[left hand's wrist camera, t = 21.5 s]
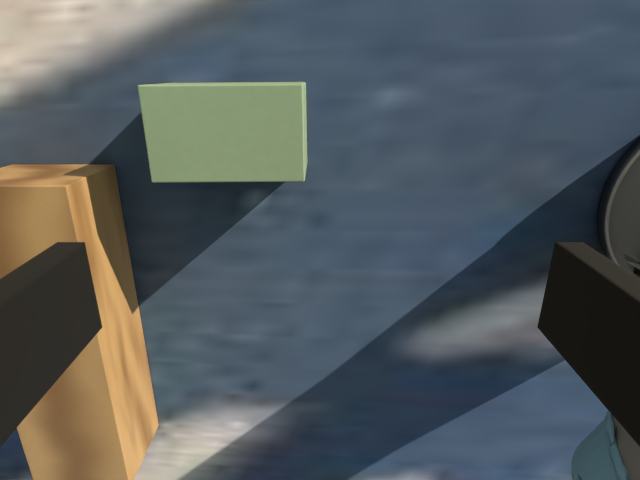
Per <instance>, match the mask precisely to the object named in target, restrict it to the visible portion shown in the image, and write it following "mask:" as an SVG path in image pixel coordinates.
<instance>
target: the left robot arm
mask: <svg viewBox="0 0 640 480" xmlns="http://www.w3.org/2000/svg"><path fill="white" fill-rule="evenodd" d="M598 233H599V239H600V243H601V246H602V248H603V251H604V253H605V254H606V256H607V257H605V256H604V255H602V254H600V253H599V252H597V251H596V250H594V249H593V248H591V247H590V246H588V245H586V244H585V243H583V242H555V246H554V250H553V255H552V260H551V265H550V270H549V275H548V279H547V284H546V289H545V294H544V299H543V303H542V308H541V313H540V318H539V323H538V328H539V330H540V331H541V332H542V333H543V334H544V335H545V337H546V338H547V339H548V340H549V341H550V342H551V344H552V345H553V346H554V347H555V348H556V349H557V351H558V352H559V353H560V354H561V355H562V356H563V358H564V359H565V360H566V361H567V362H568V363H569V365H570V366H571V367H572V368H573V369H574V370H575V372H576V373H577V374H578V375H579V376H580V377H581V379H582V380H583V381H584V382H585V383H586V384H587V386H588V387H589V388H590V389H591V390H592V392H593V393H594V394H595V395H596V396H597V397H598V399H599V400H600V401H601V402H602V403H603V404H604V406H605V407H606V408H607V409H608V412H607V413H606V417H605V419H604V420H603V421H602V422H601V423H600V424H599V425H598V426H597V427H596V428H595V429H594V430H593V431H592V432H591V433H590V434H589V435H588V436H587V437H586V438H585V439H584V440H583V441H582V442H581V443H580V444H579V446H578V447H577V448H576V450H575V452H574V455H573V458H572V467H571V474H572V480H640V139H639V140H638V141H637V142H636V143H635V144H634V145H633V146H632V147H631V148H630V149H629V150H628V151H627V153H626V154H625V155H624V156H623V157H622V159H621V160H620V161H619V163H618V164H617V166H616V167H615V169H614V170H613V172H612V174H611V175H610V177H609V180H608V182H607V184H606V186H605V189H604V191H603V194H602V197H601V201H600V205H599V210H598ZM101 328H102V323H101V318H100V313H99V308H98V303H97V299H96V294H95V289H94V284H93V279H92V275H91V270H90V265H89V260H88V255H87V250H86V246H85V242H57V243H55V244H54V245H52V246H50V247H49V248H47V249H46V250H44V251H43V252H41V253H40V254H38V255H36V256H35V257H33V258H32V259H30V260H29V261H27V262H26V263H24V264H22V265H21V266H19V267H18V268H16V269H15V270H13V271H12V272H10V273H9V274H7V275H5V276H4V277H2V278H1V279H0V447H1V445H2V444H3V443H4V442H5V441H6V439H7V438H8V437H9V436H10V435H11V434H12V432H13V431H14V430H15V429H16V428H17V427H18V425H19V424H20V423H21V422H22V421H23V420H24V418H25V417H26V416H27V415H28V414H29V413H30V411H31V410H32V409H33V408H34V407H35V406H36V404H37V403H38V402H39V401H40V400H41V399H42V397H43V396H44V395H45V394H46V393H47V392H48V390H49V389H50V388H51V387H52V386H53V384H54V383H55V382H56V381H57V380H58V379H59V377H60V376H61V375H62V374H63V373H64V372H65V370H66V369H67V368H68V367H69V366H70V365H71V363H72V362H73V361H74V360H75V359H76V358H77V356H78V355H79V354H80V353H81V352H82V351H83V349H84V348H85V347H86V346H87V345H88V344H89V342H90V341H91V340H92V339H93V338H94V337H95V335H96V334H97V333H98V332H99V331H100V330H101Z"/></svg>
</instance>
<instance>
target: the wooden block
mask: <svg viewBox="0 0 640 480" xmlns="http://www.w3.org/2000/svg"><path fill="white" fill-rule="evenodd" d="M57 242H85V246H86V250H87V255H88V260H89V265H90V270H91V275H92V279H93V284H94V289H95V294H96V299H97V303H98V308H99V313H100V318H101V323H102V328H101V330H100V331H99V332H98V333H97V334H96V335H95V337H94V338H93V339H92V340H91V341H90V342H89V344H88V345H87V346H86V347H85V348H84V349H83V351H82V352H81V353H80V354H79V355H78V356H77V358H76V359H75V360H74V361H73V362H72V363H71V365H70V366H69V367H68V368H67V369H66V370H65V372H64V373H63V374H62V375H61V376H60V377H59V379H58V380H57V381H56V382H55V383H54V384H53V386H52V387H51V388H50V389H49V390H48V392H47V393H46V394H45V395H44V396H43V397H42V399H41V400H40V401H39V402H38V403H37V404H36V406H35V407H34V408H33V409H32V410H31V411H30V413H29V414H28V415H27V416H26V417H25V418H24V420H23V421H22V422H21V423H20V424H19V425H18V427H17V431H18V434H19V437H20V440H21V443H22V446H23V449H24V452H25V456H26V459H27V462H28V465H29V468H30V471H31V474H32V478H33V480H134V478H135V475H136V473H137V471H138V469H139V467H140V465H141V462H142V460H143V458H144V456H145V454H146V452H147V449H148V447H149V445H150V443H151V441H152V438H153V436H154V434H155V432H156V430H157V428H158V425H159V424H158V418H157V412H156V406H155V401H154V395H153V389H152V383H151V377H150V371H149V365H148V359H147V353H146V347H145V341H144V336H143V330H142V324H141V318H140V312H139V306H138V300H137V294H136V288H135V282H134V277H133V271H132V265H131V259H130V253H129V247H128V241H127V235H126V229H125V223H124V217H123V212H122V206H121V200H120V194H119V188H118V182H117V176H116V170H115V165H114V164H12V165H9V166H6V167H2V168H0V279H1V278H2V277H4V276H5V275H7V274H9V273H10V272H12V271H13V270H15V269H16V268H18V267H19V266H21V265H22V264H24V263H26V262H27V261H29V260H30V259H32V258H33V257H35V256H36V255H38V254H40V253H41V252H43V251H44V250H46V249H47V248H49V247H50V246H52V245H54V244H55V243H57Z"/></svg>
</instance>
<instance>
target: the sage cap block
mask: <svg viewBox="0 0 640 480" xmlns="http://www.w3.org/2000/svg"><path fill="white" fill-rule="evenodd" d="M138 93H139V100H140V106H141V113H142V120H143V127H144V133H145V140H146V147H147V154H148V160H149V167H150V174H151V181H152V182H153V183H161V182H304V181H305V175H306V168H307V122H306V83H305V82H240V83H163V84H149V85H138Z"/></svg>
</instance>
